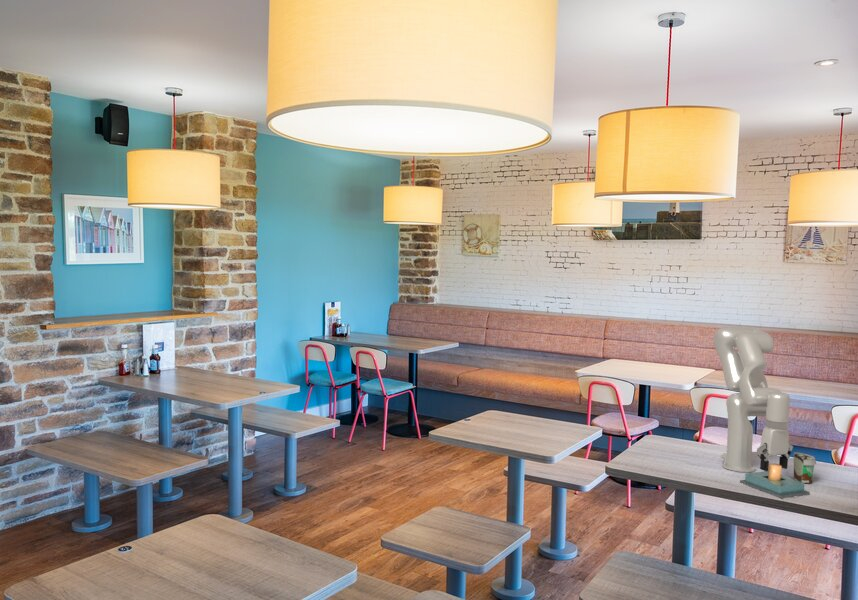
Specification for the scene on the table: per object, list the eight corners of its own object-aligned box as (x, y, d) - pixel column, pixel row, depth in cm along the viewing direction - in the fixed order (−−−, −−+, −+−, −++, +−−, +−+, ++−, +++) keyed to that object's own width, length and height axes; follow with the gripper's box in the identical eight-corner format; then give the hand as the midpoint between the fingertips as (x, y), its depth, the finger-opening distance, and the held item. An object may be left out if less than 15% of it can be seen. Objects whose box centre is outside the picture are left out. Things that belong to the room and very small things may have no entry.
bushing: (765, 484, 256) (766, 464, 255) (773, 483, 257) (774, 463, 257) (774, 488, 252) (775, 467, 251) (783, 487, 253) (784, 466, 253)
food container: (820, 487, 258) (821, 461, 258) (802, 485, 259) (804, 460, 259) (808, 477, 270) (810, 453, 270) (792, 476, 271) (793, 451, 271)
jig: (739, 482, 261) (740, 472, 261) (766, 479, 266) (767, 469, 266) (781, 498, 243) (782, 487, 243) (809, 494, 248) (810, 484, 248)
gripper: (784, 420, 260) (781, 464, 262) (751, 423, 254) (748, 468, 255) (801, 425, 253) (798, 470, 255) (767, 429, 247) (764, 474, 248)
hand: (773, 469), depth 255 cm, fingers open, 9 cm apart
